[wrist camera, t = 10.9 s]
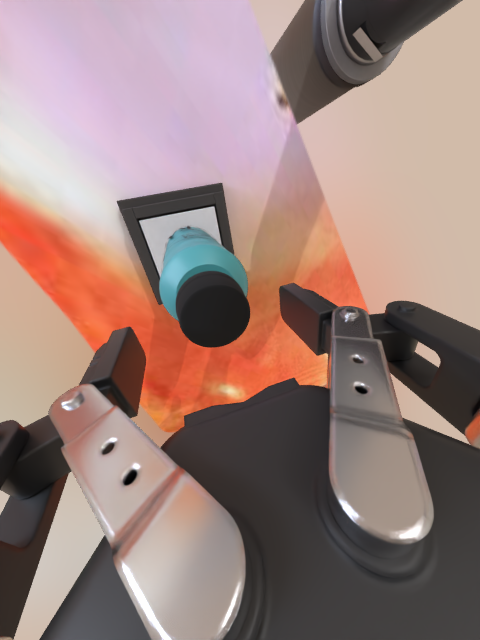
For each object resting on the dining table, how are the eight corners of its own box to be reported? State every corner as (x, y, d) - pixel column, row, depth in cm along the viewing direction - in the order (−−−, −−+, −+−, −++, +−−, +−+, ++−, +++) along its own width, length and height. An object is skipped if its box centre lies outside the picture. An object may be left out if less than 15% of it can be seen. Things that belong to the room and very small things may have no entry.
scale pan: (140, 220, 26) (139, 221, 25) (212, 206, 27) (214, 206, 26) (165, 288, 31) (165, 291, 29) (225, 273, 32) (228, 276, 31)
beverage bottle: (218, 270, 30) (277, 354, 13) (170, 277, 29) (169, 381, 12) (211, 220, 27) (279, 247, 10) (158, 226, 25) (130, 268, 9)
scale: (118, 201, 26) (113, 200, 23) (220, 183, 28) (224, 181, 25) (159, 301, 33) (158, 309, 30) (237, 281, 35) (242, 287, 32)
